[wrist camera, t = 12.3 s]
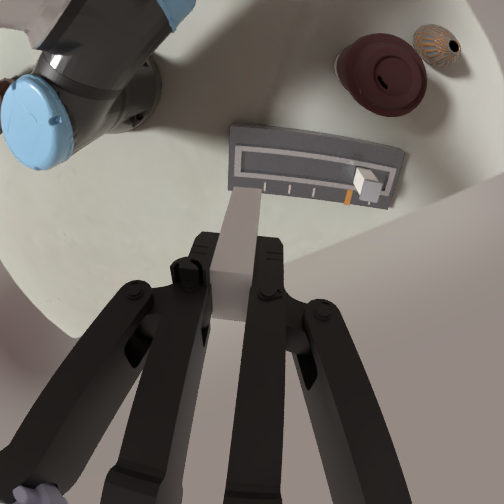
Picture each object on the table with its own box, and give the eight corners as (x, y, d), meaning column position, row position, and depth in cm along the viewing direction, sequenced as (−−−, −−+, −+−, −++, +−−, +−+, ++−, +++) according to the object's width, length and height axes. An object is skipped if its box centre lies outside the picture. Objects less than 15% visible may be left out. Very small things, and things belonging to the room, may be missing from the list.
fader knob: (351, 183, 43) (360, 200, 39) (356, 165, 41) (365, 180, 37) (367, 186, 43) (377, 202, 39) (372, 168, 41) (382, 183, 37)
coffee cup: (382, 39, 29) (429, 36, 18) (389, 98, 35) (435, 121, 24) (319, 40, 31) (341, 31, 20) (329, 101, 37) (354, 122, 26)
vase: (446, 64, 29) (476, 70, 22) (412, 65, 31) (440, 69, 24) (437, 26, 25) (466, 25, 18) (402, 25, 27) (428, 22, 20)
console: (229, 185, 48) (227, 192, 46) (231, 123, 41) (229, 127, 39) (384, 204, 47) (388, 212, 45) (400, 148, 40) (406, 154, 38)
